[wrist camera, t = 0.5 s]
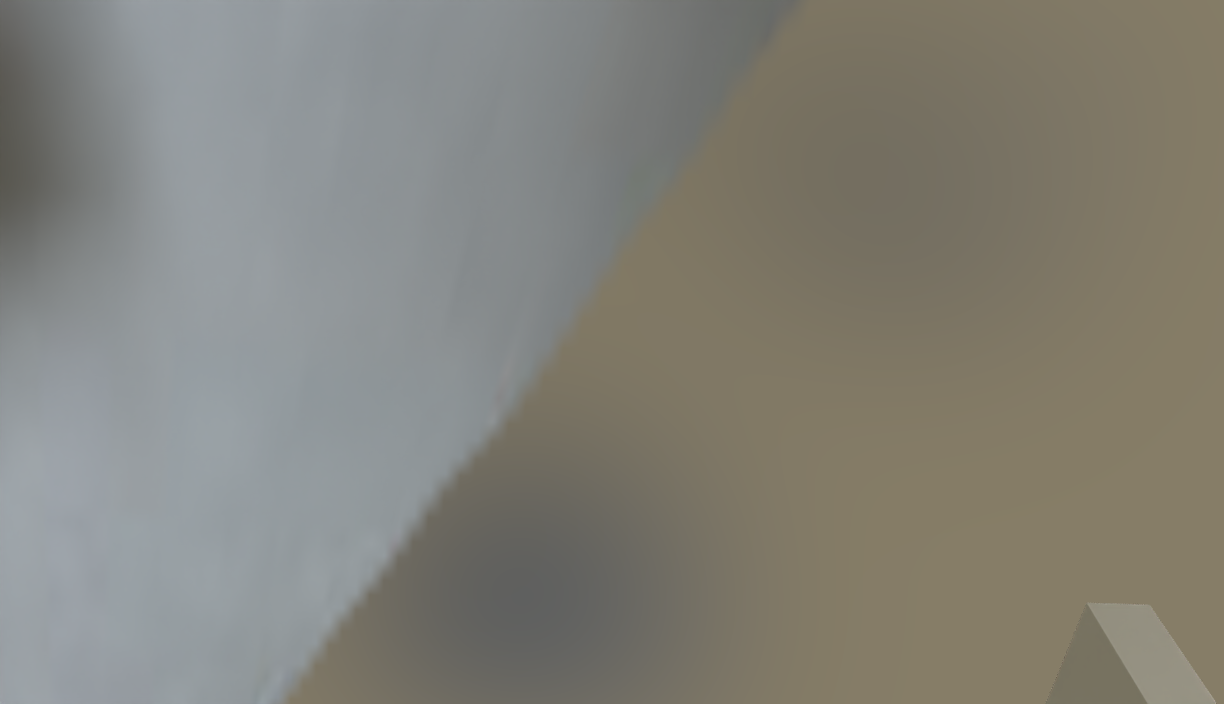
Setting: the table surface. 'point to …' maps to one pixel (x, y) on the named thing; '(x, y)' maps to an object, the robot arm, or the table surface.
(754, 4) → the table surface
